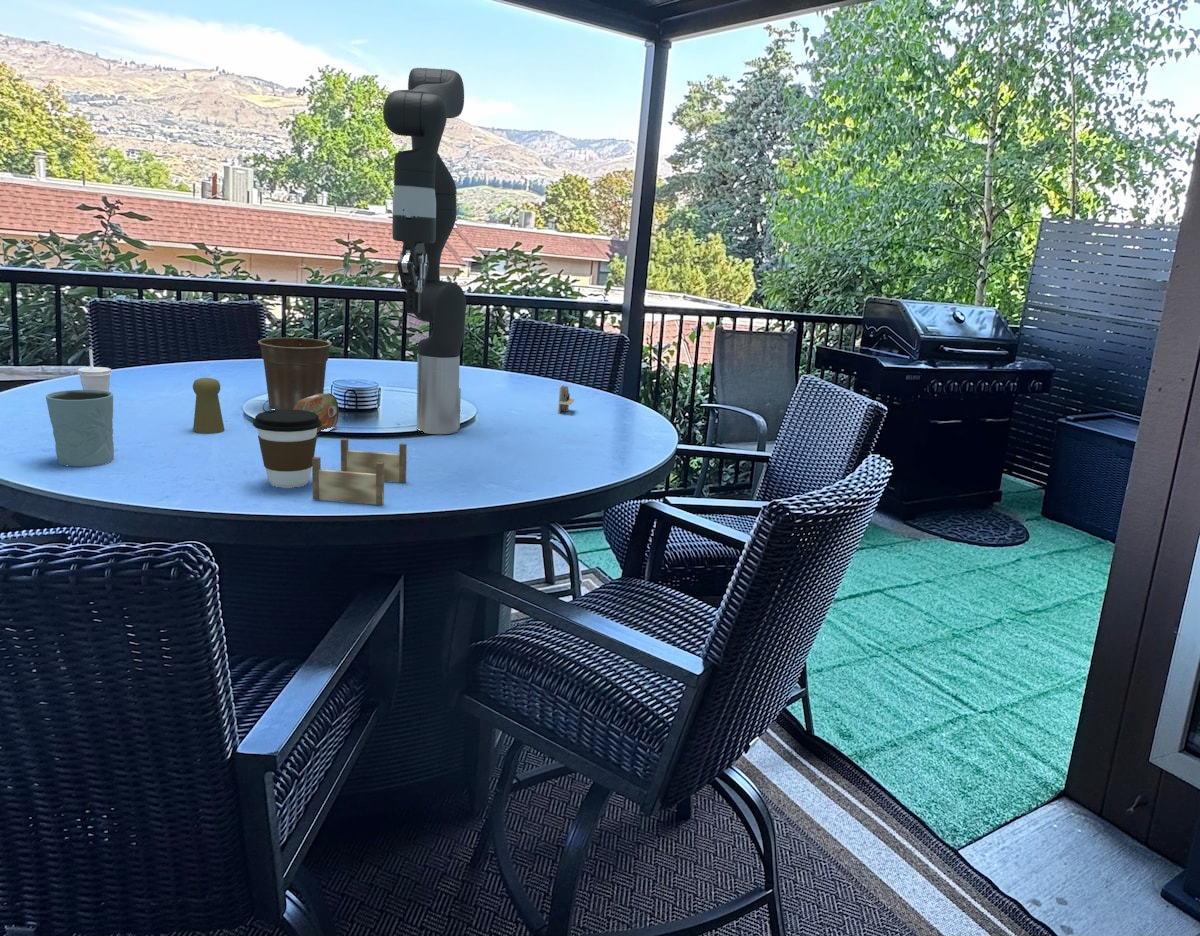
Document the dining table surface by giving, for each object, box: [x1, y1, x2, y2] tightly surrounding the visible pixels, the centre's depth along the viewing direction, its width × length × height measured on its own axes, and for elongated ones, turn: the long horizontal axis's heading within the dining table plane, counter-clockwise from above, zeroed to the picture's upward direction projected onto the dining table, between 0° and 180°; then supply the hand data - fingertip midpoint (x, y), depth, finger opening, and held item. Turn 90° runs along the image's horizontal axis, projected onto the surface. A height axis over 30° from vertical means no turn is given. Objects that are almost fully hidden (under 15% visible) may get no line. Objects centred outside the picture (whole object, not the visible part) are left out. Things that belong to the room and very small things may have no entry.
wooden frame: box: [311, 438, 408, 506], centre depth 144 cm, size 12×14×7 cm
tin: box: [293, 393, 340, 434], centre depth 180 cm, size 15×3×8 cm, turn 168°
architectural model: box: [557, 383, 576, 415], centre depth 221 cm, size 3×7×7 cm, turn 174°
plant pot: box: [257, 337, 332, 410], centre depth 201 cm, size 16×16×16 cm
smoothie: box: [77, 348, 113, 392], centre depth 183 cm, size 6×6×14 cm
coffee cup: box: [252, 409, 321, 489], centre depth 144 cm, size 11×11×12 cm
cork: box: [192, 377, 225, 435], centre depth 176 cm, size 6×6×11 cm
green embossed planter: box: [45, 389, 115, 467], centre depth 149 cm, size 10×10×12 cm
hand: (413, 313), depth 154 cm, fingers closed
